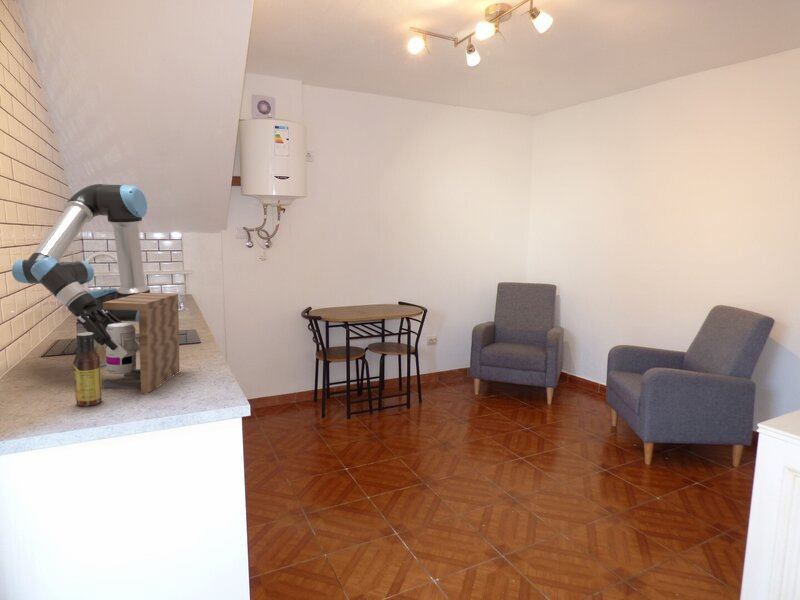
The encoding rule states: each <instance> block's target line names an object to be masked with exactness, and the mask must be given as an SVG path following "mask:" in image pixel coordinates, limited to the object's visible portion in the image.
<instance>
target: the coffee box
mask: <svg viewBox="0 0 800 600" xmlns="http://www.w3.org/2000/svg"><path fill="white" fill-rule="evenodd" d="M75 325H76V335H77V334H78V333H84V332H88V331H87V330H86V329H85V328H84V327H83V325H81V324H80V323H79V322H78V321H76V323H75ZM103 327H104V328H105V330H106V328H107V327H106V326H104V325H103ZM76 341H77V340H76ZM93 341H94V350H95V351H96V353H97V354H98V355H99V358H100V368H101V367H104V366H106V344H104V345H103V346H102V345H100V344H99V343H97V342H96V341H95V340H94V339H93ZM76 343H77V344H78V341H77V342H76Z"/></svg>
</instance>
